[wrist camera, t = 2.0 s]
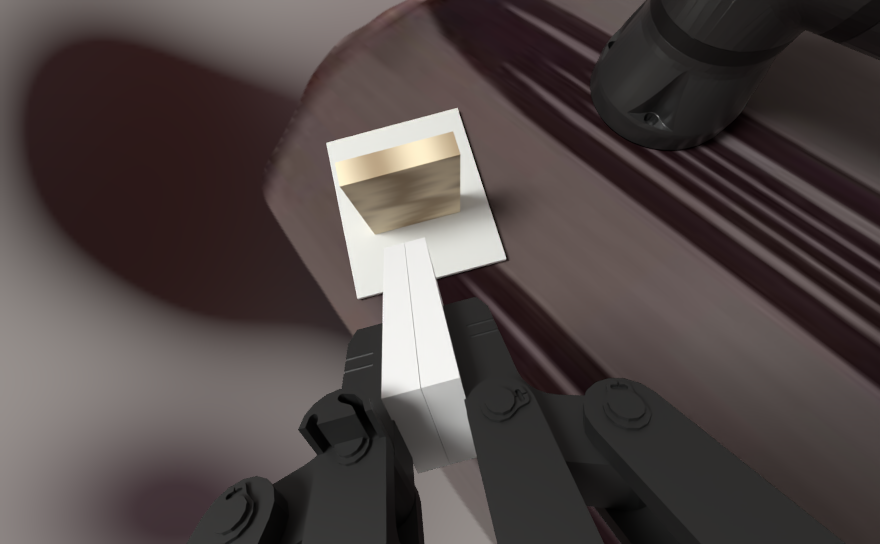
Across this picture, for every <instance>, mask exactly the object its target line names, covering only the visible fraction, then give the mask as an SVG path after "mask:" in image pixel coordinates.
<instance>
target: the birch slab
mask: <svg viewBox="0 0 880 544" xmlns="http://www.w3.org/2000/svg"><path fill="white" fill-rule="evenodd" d="M460 155H461V154H460V151H459V148H458V145H457V142H456V139H455V135H454V132H453V131H452V132H449V133H445V134H441V135H437V136H434V137H430V138H426V139H422V140H419V141H415V142H411V143H407V144H404V145H400V146H396V147H392V148H388V149H385V150H381V151H377V152H373V153H370V154H366V155H362V156H358V157H355V158H351V159H347V160H343V161H340V162H336V163H335V166H336V171H337V176H338V181H339V186H340V188H341V189H342V190H343V192H344V193H345V195H346V196H347V197H348V199H349V200H350V201H351V203H352V204H353V206H354V207H355V208H356V210H357V211H358V212H359V214H360V215H361V216H362V218H363V219H364V221H365V222H366V223H367V225H368V226H369V227H370V229H371V230H372V232H373V233H374V234H379V233H383V232H386V231H390V230H394V229H398V228H401V227H405V226H409V225H413V224H416V223H420V222H424V221H428V220H431V219H435V218H439V217H442V216H446V215H450V214H454V213H457V212H460Z"/></svg>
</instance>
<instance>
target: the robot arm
mask: <svg viewBox="0 0 880 544" xmlns="http://www.w3.org/2000/svg"><path fill="white" fill-rule="evenodd" d="M805 30H806V31H809V32H812V33H814V34H817V35H820V36H822V37H825V38H827V39H830V40H832V41H834V42H836V43H839V44H842V45H844V46H846V47H849V48H851V49H854V50H856V51H859V52H861V53H863V54H866V55H868V56H871V57H873V58H876V59H878V60H880V0H646V1H645V2H644V3H643V4H642V5H641V6H640V7H639V8H638V9H637V10H636V11H635V12H634V14H633V15H632V16H631V17H630V18H629V19H628V20H627V21H626V22H625V23H624V25H623V26H622V27H621V28H620V29H619V30H618V31H617V32H616V33H615V34H614V35H613V36H612V37H611V39H610V40H609V41H608V42H607V44H606V45H605V47H604V49H603V50H602V52H601V54H600V56H599V59H598V61H597V63H596V65H595V67H594V69H593V72H592V76H591V82H590V90H591V96H592V100H593V103H594V106H595V108H596V110H597V112H598V113H599V115H600V116H601V118H602V119H603V120H604V121H605V123H606V124H607V125H608V126H609V127H610V128H611V129H613V130H614V131H615V132H616V133H618V134H619V135H621V136H622V137H624V138H626V139H628V140H629V141H631V142H634V143H636V144H639V145H642V146H645V147H649V148H654V149H661V150H679V149H686V148H691V147H694V146H697V145H700V144H702V143H704V142H707V141H708V140H710V139H712V138H713V137H715V136H716V135H717V134H718V133H720V132H721V131H722V130H723V129H724V128H725V127H727V126H728V125H729V124H730V123H731V122H733V121H734V120H735V119H736V118H737V117H738V115H739V114H740V113H741V112H742V111H743V109H744V108H745V106H746V105H747V103H748V100H749V98H750V97H751V96H752V94H753V93H754V91H755V90H756V88H757V86H758V85H759V83H760V82H761V80H762V79H763V77H764V76H765V74H766V72H767V71H768V69H769V68H770V66H771V64H772V63H773V61H774V59H775V58H776V56H777V55H778V54H779V53H780V52H781V51H782V50H784V49H785V48H786V47H787V46H788V45H789V44H790V43H791V42H792V41H793V40H794V39H795V38H796V37H797V36H798V35H800V34H801V33H802V32H804V31H805ZM346 360H347V361H346V364H345V370H344V371H345V374H344V377H343V384H342V389H339V390H337V391H334V392H332V393H330V394H327V395H326V396H324V397H323V398H322V399H320V400H319V401H318V402H316V403H315V404H314V405H313V406H312V407H311V409H310V410H309V411H308V412H307V413H306V415H305V416H304V418H303V421H302V422H301V425H300V427H299V429H298V430H299V431H300V433H301V434H302V435H303V437H304V438H305V439H306V441H307V442H308V443H309V445H310V446H311V447H312V448H313V450H314V451H315V452H316V454H317V456H316V457H315V458H314V459H313V460H311V461H310V462H308V463H307V464H306V465H304V466H303V467H301V468H299V469H298V470H296V471H294V472H293V473H291V474H289V475H288V476H286V477H284V478H283V479H281V480H279V481H278V482H276V483H274V484H272V483H271V482H270V481H269V480H268V479H266V478H262V477H258V476H255V477H251V478H247V479H243V480H241V481H240V482H238V483H237V484H235V485H233V486H231V487H229V488H228V489H227V490H226V491H225V492H224V493H223V494H222V495H221V496H219V497H218V498H217V499H216V500H215V501H214V502H213V504H212V505H211V506H210V508H209V509H208V511H207V512H206V513H205V515H204V516H203V517H202V519H201V520H200V522H199V524H198V525H197V527H196V529H195V531H194V532H193V534H192V535H191V537H190V539H189V540H188V542H187V544H424V533H423V521H422V510H421V501H420V497H419V494H418V491H417V489H416V487H415V485H414V472H413V464H414V466H415V468H416V470H417V472H418V473H422V472H425V471H429V470H433V469H436V468H440V467H444V466H447V465H451V464H455V463H458V462H462V461H465V460H469V459H473V458H476V457H477V460H478V464H479V468H480V472H481V476H482V481H483V485H484V489H485V493H486V497H487V502H488V506H489V510H490V514H491V518H492V523H493V527H494V531H495V535H496V540H497V544H604V543H603V541H602V539H601V536H600V534H599V532H598V530H597V528H596V526H595V524H594V522H593V519H592V517H591V515H590V513H589V511H588V509H587V507H586V506H593V507H594V508H595V509H596V510H597V512H598V513H599V514H600V516H601V517H602V518H603V520H604V521H605V522H606V524H607V525H608V527H609V528H610V529H611V531H612V532H613V533H614V535H615V536H616V537H617V539H618V540H619V541H620V543H621V544H845V543H844V542H843V541H842V540H840V539H839V538H838V537H836V536H835V535H834V534H833V533H831V532H830V531H829V530H828V529H826V528H825V527H824V526H823V525H821V524H820V523H819V522H818V521H816V520H815V519H814V518H813V517H811V516H810V515H809V514H808V513H806V512H805V511H804V510H803V509H801V508H800V507H799V506H798V505H796V504H795V503H794V502H793V501H791V500H790V499H789V498H788V497H786V496H785V495H784V494H782V493H781V492H780V491H779V490H777V489H776V488H775V487H774V486H772V485H771V484H770V483H769V482H767V481H766V480H765V479H764V478H762V477H761V476H760V475H759V474H757V473H756V472H755V471H754V470H752V469H751V468H750V467H749V466H747V465H746V464H745V463H744V462H742V461H741V460H740V459H739V458H737V457H736V456H735V455H734V454H732V453H731V452H730V451H729V450H727V449H726V448H725V447H723V446H722V445H721V444H720V443H718V442H717V441H716V440H715V439H713V438H712V437H711V436H710V435H708V434H707V433H706V432H705V431H703V430H702V429H701V428H700V427H698V426H697V425H696V424H695V423H693V422H692V421H691V420H690V419H688V418H687V417H686V416H685V415H683V414H682V413H681V412H680V411H678V410H677V409H676V408H675V407H673V406H672V405H671V404H669V403H668V402H667V401H666V400H664V399H663V398H662V397H661V396H659V395H658V394H657V393H656V392H654V391H652V390H651V389H649V388H647V387H646V386H644V385H642V384H641V383H638V382H634V381H631V380H628V379H624V378H608V379H605V380H601V381H598V382H595V383H594V384H593V385H592V386H591V387H590V388H589V389H588V390H587V391H586V394H585V396H579V395H556V394H548V393H545V392H542V391H539V390H537V389H535V388H533V387H531V386H530V385H528V384H527V383H526V382H525V381H524V380H523V379H522V378H521V376H520V375H519V373H518V372H517V369H516V367H515V365H514V363H513V361H512V359H511V356H510V354H509V352H508V350H507V348H506V345H505V343H504V341H503V339H502V337H501V334H500V332H499V331H498V328H497V326H496V323H495V321H494V320H493V317H492V315H491V312H490V310H489V308H488V306H487V305H486V304H485V303H483V302H482V301H480V300H479V299H478V298H476V297H474V298H470V299H466V300H463V301H459V302H455V303H451V304H448V305H444V306H443V302H442V298H441V294H440V291H439V287H438V283H437V280H436V276H435V273H434V269H433V265H432V262H431V258H430V254H429V251H428V247H427V243H426V240H425V237H424V238H420V239H416V240H412V241H409V242H405V244H404V243H401V244H397V245H394V246H390V247H386V248H384V272H383V323H382V324H378V325H374V326H370V327H367V328H363V329H359V330H357V331H356V333H355V334H354V336H353V338H352V339H351V341H350V343H349V344H348V350H347V357H346Z"/></svg>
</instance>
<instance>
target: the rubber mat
mask: <svg viewBox="0 0 880 544" xmlns="http://www.w3.org/2000/svg"><path fill="white" fill-rule="evenodd" d="M452 131H453V132H454V135H455V139H456V142H457V145H458V148H459V151H460V154H461V155H460V212H457V213H454V214H450V215H446V216H442V217H439V218H435V219H431V220H428V221H424V222H420V223H416V224H413V225H409V226H405V227H401V228H398V229H394V230H390V231H386V232H383V233H379V234H374V233H373V232H372V230H371V229H370V227H369V226H368V225H367V223H366V222H365V221H364V219H363V218H362V216H361V215H360V214H359V212H358V211H357V210H356V208H355V207H354V206H353V204H352V203H351V201H350V200H349V199H348V197H347V196H346V195H345V193H344V192H343V190H342V189H341V188H340V186H339V181H338V176H337V171H336V166H335V163H336V162H340V161H343V160H347V159H351V158H355V157H358V156H362V155H366V154H370V153H373V152H377V151H381V150H385V149H388V148H392V147H396V146H400V145H404V144H407V143H411V142H415V141H419V140H422V139H426V138H430V137H434V136H437V135H441V134H445V133H449V132H452ZM326 144H327V149H328V154H329V159H330V164H331V169H332V174H333V179H334V184H335V189H336V194H337V199H338V204H339V209H340V214H341V219H342V224H343V229H344V234H345V239H346V244H347V249H348V254H349V259H350V264H351V269H352V274H353V279H354V284H355V289H356V294H357V299H359V300H360V299H364V298H367V297H371V296H375V295H379V294H382V293H383V272H384V248H386V247H390V246H394V245H397V244H401V243H404V244H405V242H409V241H412V240H416V239H420V238H424V237H425V240H426V243H427V247H428V251H429V254H430V258H431V262H432V265H433V269H434V273H435V276H436V279H438V278H442V277H446V276H449V275H453V274H457V273H461V272H464V271H468V270H472V269H475V268H479V267H483V266H487V265H490V264H494V263H498V262H502V261H505V260H506V256H505V253H504V250H503V247H502V244H501V241H500V238H499V234H498V231H497V228H496V225H495V222H494V219H493V216H492V213H491V210H490V207H489V204H488V201H487V198H486V195H485V191H484V188H483V185H482V182H481V179H480V176H479V173H478V170H477V167H476V164H475V161H474V158H473V155H472V151H471V148H470V145H469V142H468V139H467V136H466V133H465V130H464V127H463V124H462V121H461V118H460V115H459V112H458V108H456V109H452V110H448V111H444V112H441V113H437V114H433V115H429V116H426V117H422V118H418V119H414V120H411V121H407V122H403V123H399V124H396V125H392V126H388V127H384V128H380V129H377V130H373V131H369V132H365V133H362V134H358V135H354V136H350V137H347V138H343V139H339V140H335V141H332V142H328V143H326Z"/></svg>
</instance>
